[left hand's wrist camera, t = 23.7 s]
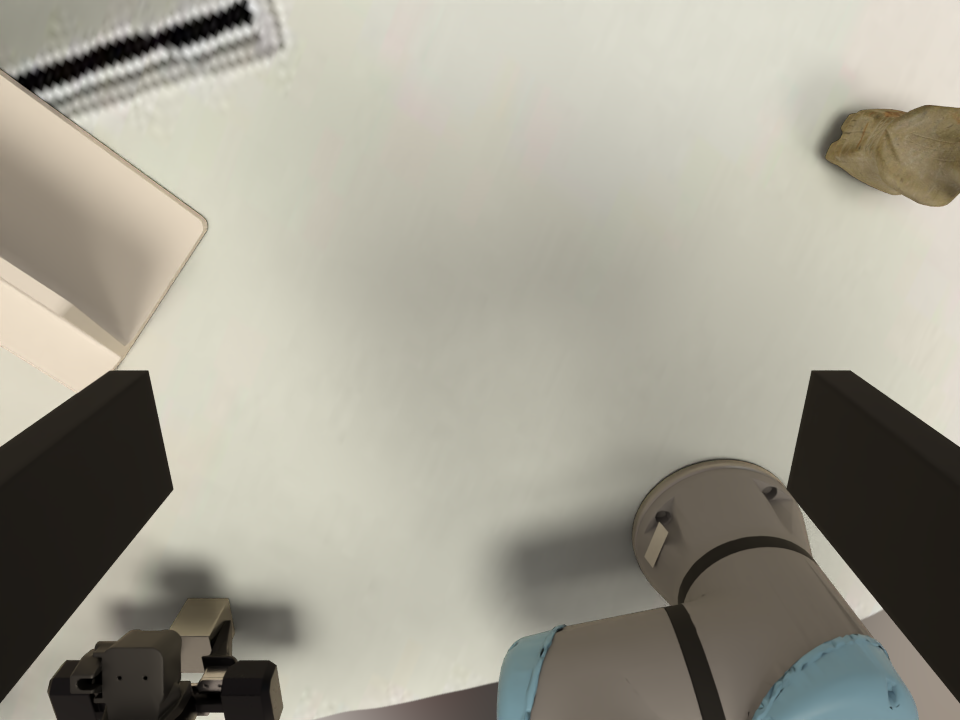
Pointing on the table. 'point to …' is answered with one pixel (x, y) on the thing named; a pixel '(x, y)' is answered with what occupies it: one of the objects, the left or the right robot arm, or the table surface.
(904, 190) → the sculpture
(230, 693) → the right robot arm
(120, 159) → the tablet stand
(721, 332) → the table surface
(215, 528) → the table surface
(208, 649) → the block
